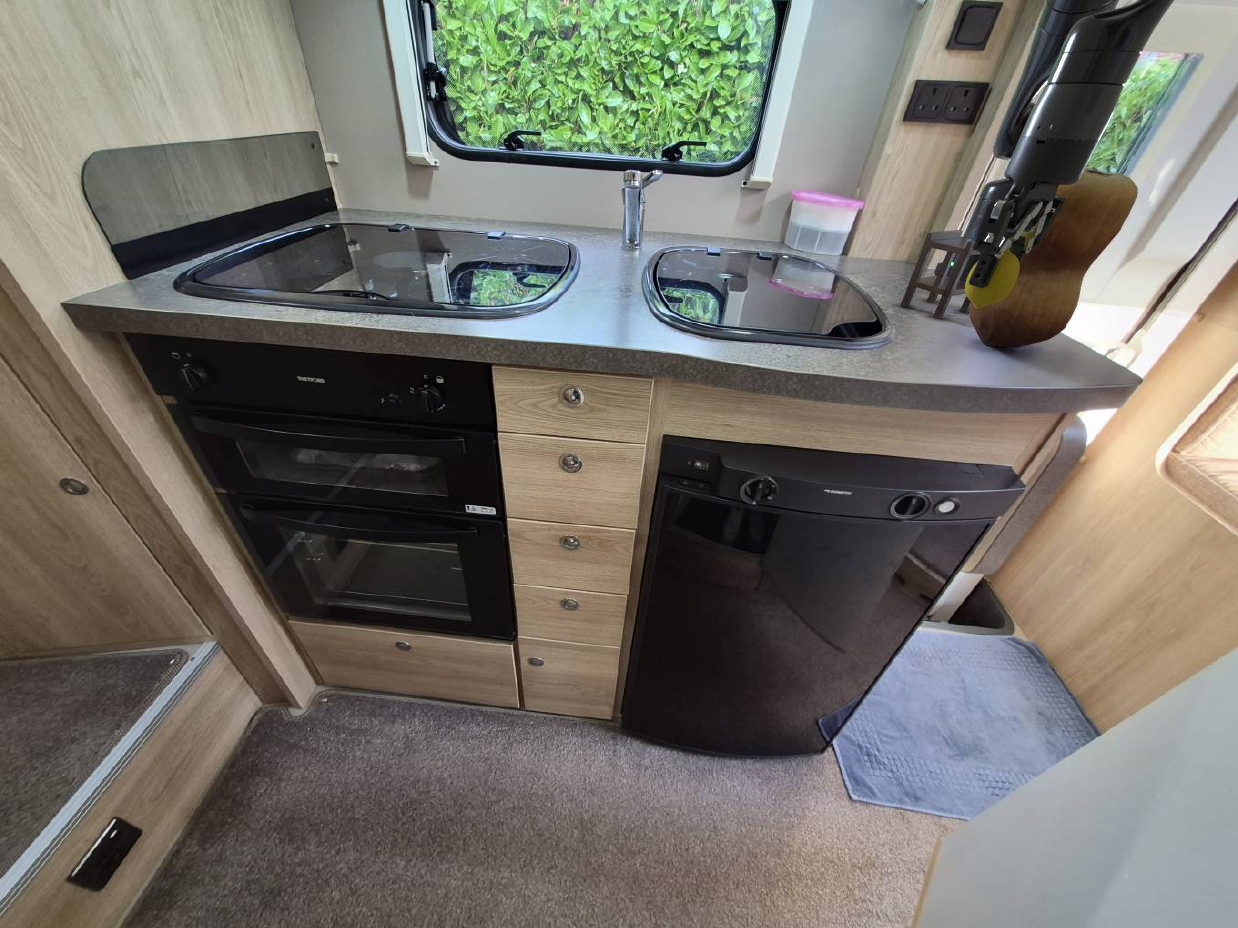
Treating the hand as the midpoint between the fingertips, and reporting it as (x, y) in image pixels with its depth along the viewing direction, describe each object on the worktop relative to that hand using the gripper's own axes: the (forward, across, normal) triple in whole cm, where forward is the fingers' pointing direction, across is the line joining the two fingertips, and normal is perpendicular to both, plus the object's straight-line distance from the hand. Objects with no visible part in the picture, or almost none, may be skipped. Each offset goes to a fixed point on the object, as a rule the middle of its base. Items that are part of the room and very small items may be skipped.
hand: (989, 283), depth 67 cm
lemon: (+4, 0, 0) cm, 4 cm away
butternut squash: (+12, -15, -1) cm, 19 cm away
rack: (+12, -23, -17) cm, 31 cm away
